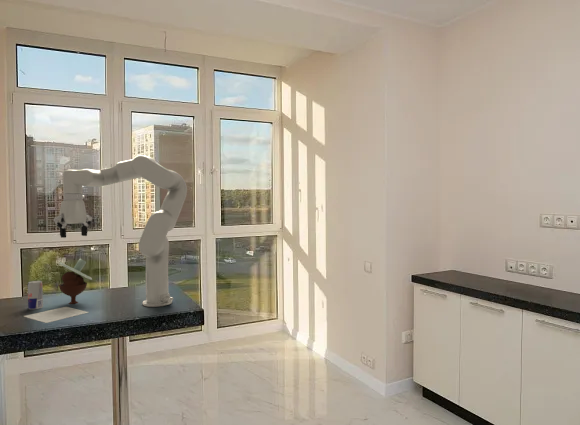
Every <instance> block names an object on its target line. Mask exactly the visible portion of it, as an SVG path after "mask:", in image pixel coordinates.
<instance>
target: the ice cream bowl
mask: <svg viewBox="0 0 580 425" xmlns="http://www.w3.org/2000/svg"><path fill="white" fill-rule="evenodd" d="M61 276H62V277H61V281H62V283H60V284H58V287H59V290H60V292H61V293H63V294H64V295H66V296H69V297H70V298H71V299H70V302H68V304H69V305H75V304H79V301H77V300H76V298H77V296H78V295H80V294H81V293H83V292H84V291H85V289H86V288H87V285H88V282H86V281H85V279H84V278H85V277H83V276H81V275H79V274H77V273H75V272H73V271H67V272H64V274H62V275H61Z"/></svg>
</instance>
